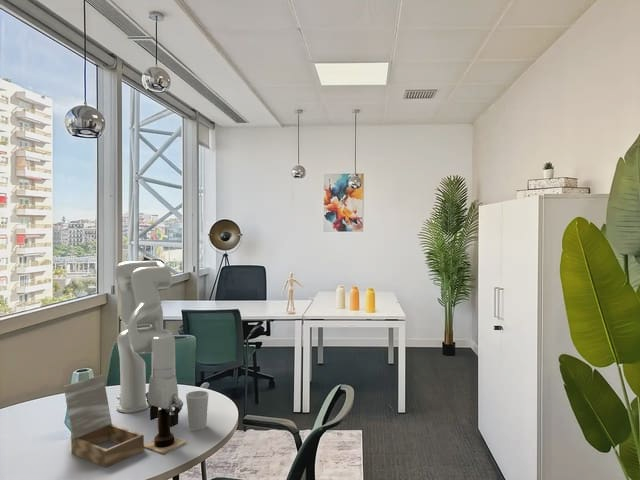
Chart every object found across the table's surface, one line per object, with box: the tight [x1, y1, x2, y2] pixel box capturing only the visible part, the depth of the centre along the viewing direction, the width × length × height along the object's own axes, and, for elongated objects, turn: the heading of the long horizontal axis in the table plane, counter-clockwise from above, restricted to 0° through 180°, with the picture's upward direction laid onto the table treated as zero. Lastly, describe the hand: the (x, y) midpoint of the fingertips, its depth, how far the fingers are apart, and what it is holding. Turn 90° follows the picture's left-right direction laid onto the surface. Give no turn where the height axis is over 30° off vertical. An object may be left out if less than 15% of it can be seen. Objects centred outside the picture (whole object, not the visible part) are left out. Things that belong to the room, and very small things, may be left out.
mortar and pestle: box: [153, 408, 175, 448], centre depth 172 cm, size 7×6×18 cm
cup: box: [185, 390, 209, 431], centre depth 187 cm, size 8×8×12 cm
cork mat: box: [144, 437, 187, 455], centre depth 172 cm, size 10×10×1 cm
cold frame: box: [63, 374, 145, 468], centre depth 168 cm, size 22×14×22 cm, turn 58°
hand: (164, 422), depth 172 cm, fingers open, 9 cm apart
